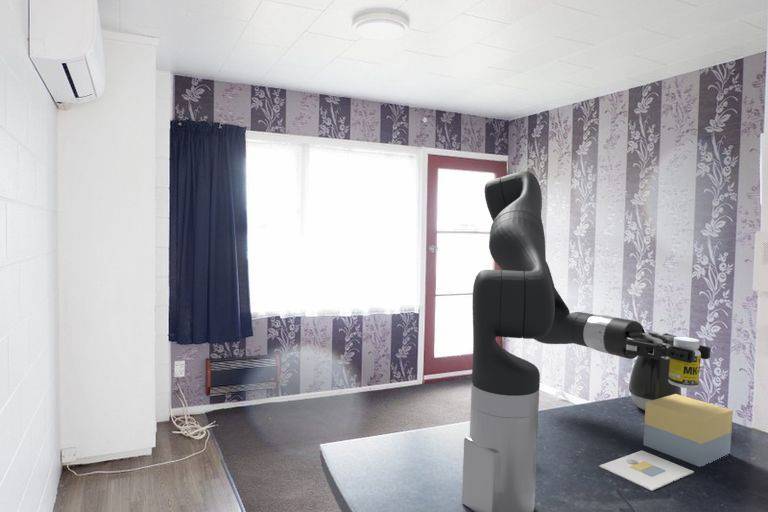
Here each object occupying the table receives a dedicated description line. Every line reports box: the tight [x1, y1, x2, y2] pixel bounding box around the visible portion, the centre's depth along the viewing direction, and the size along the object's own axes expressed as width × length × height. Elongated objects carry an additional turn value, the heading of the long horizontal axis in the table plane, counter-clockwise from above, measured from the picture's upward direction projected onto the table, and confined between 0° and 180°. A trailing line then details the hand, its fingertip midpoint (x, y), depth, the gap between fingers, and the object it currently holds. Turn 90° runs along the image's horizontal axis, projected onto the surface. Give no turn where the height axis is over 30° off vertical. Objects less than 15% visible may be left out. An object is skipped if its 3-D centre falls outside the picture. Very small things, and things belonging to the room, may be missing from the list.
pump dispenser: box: [628, 356, 682, 411], centre depth 113 cm, size 10×10×15 cm
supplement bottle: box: [668, 336, 702, 389], centre depth 93 cm, size 5×5×8 cm
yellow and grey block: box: [643, 394, 734, 468], centre depth 93 cm, size 10×10×8 cm
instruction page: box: [599, 450, 695, 492], centre depth 85 cm, size 12×9×1 cm
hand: (701, 355), depth 90 cm, fingers closed on supplement bottle, 4 cm apart
